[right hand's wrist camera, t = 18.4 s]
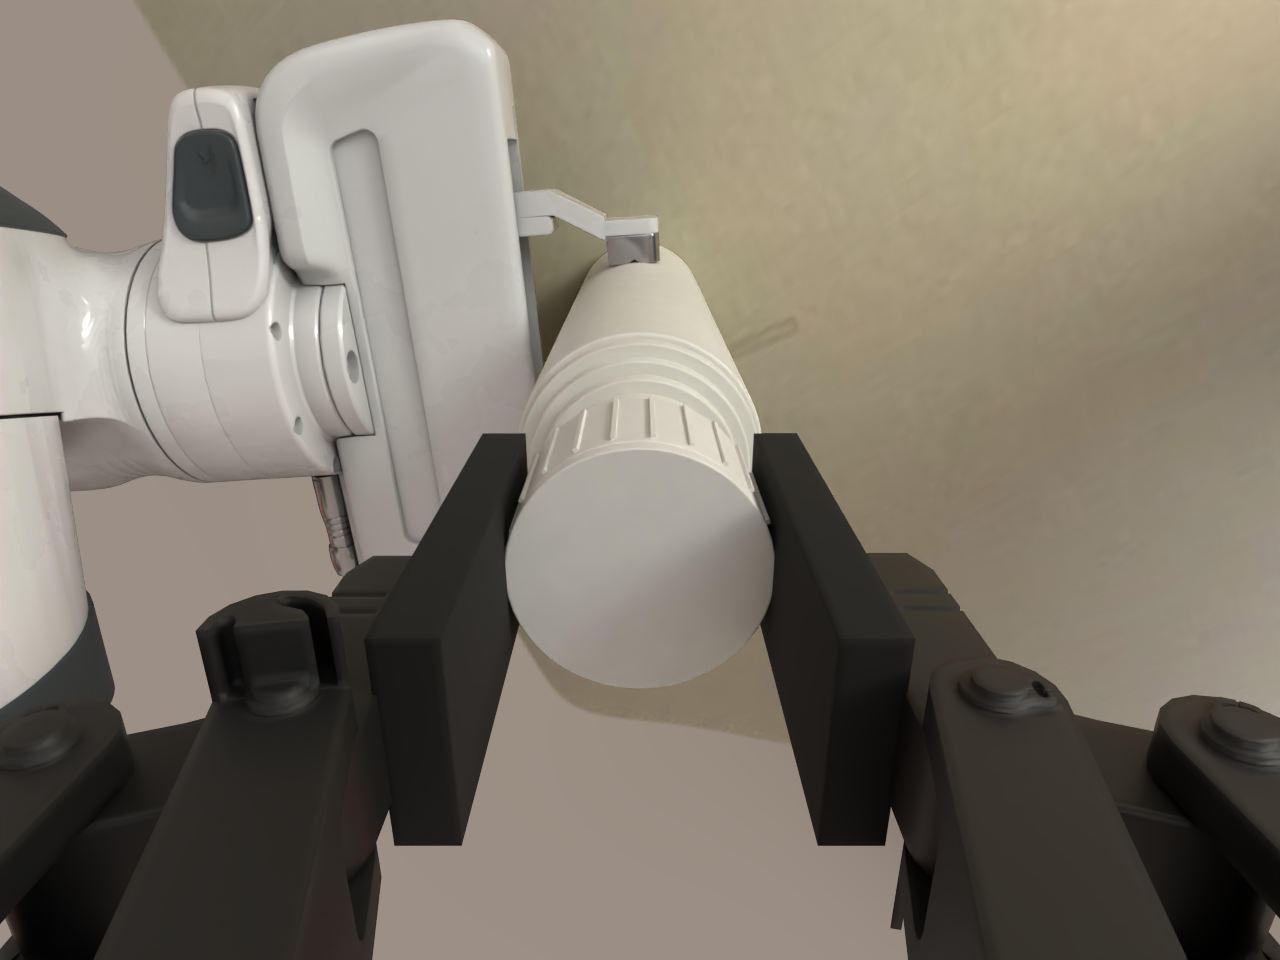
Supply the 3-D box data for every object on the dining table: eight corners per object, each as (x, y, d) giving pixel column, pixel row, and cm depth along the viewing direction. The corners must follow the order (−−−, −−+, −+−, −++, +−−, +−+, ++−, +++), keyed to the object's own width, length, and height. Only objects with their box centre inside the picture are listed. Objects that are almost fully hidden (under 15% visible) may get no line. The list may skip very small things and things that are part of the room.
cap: (519, 597, 15) (496, 682, 13) (529, 382, 14) (505, 431, 11) (738, 615, 15) (756, 703, 13) (771, 404, 14) (801, 457, 11)
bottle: (576, 244, 34) (451, 407, 11) (698, 239, 34) (814, 392, 11) (584, 364, 36) (491, 705, 13) (700, 359, 36) (802, 695, 13)
